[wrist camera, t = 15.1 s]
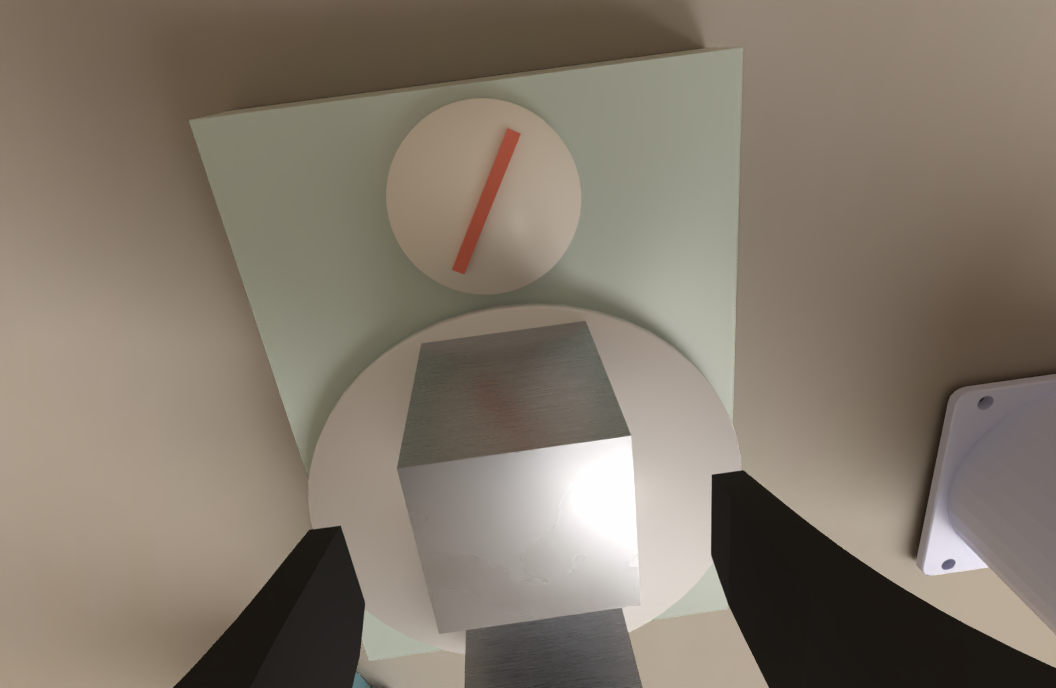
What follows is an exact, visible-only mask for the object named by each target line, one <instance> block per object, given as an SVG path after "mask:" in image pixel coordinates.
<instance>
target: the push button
mask: <svg viewBox="0 0 1056 688" xmlns="http://www.w3.org/2000/svg"><path fill="white" fill-rule="evenodd" d="M352 688H371V687H370V686H369V685H368V684H367V682H366V681H365V680H364V679H363V678H362V677H361V676H360V675H359V673H357V672H356V674H355V678H354V683H353V687H352Z"/></svg>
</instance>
